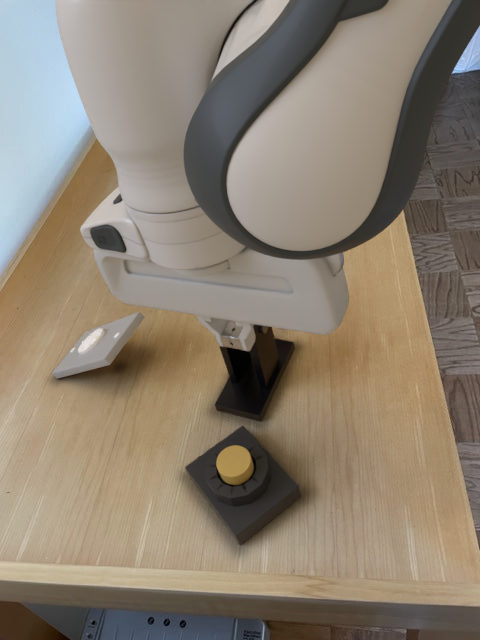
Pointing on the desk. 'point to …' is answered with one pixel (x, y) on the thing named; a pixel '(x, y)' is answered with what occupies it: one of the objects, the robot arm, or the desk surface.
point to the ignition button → (235, 465)
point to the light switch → (98, 346)
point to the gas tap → (254, 374)
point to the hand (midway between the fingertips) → (237, 343)
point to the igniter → (244, 487)
